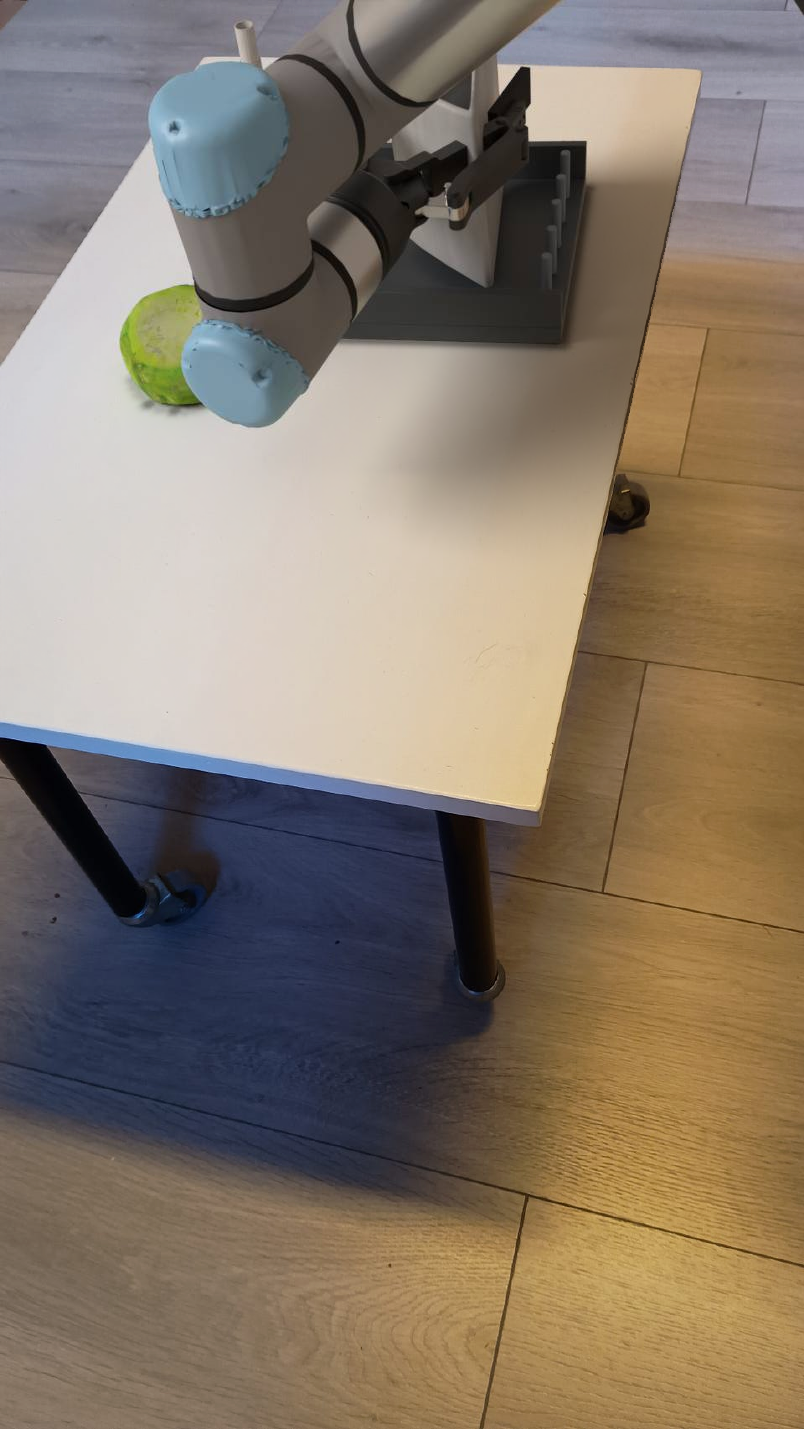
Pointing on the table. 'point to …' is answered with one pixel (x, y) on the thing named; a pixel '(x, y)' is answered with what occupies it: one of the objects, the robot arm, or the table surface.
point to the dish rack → (526, 265)
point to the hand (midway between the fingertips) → (468, 77)
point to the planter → (464, 122)
